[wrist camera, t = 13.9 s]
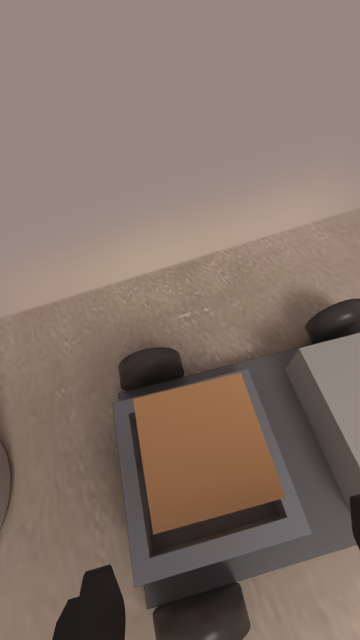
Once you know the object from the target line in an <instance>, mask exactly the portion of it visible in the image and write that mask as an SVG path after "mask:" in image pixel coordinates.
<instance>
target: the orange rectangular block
mask: <svg viewBox="0 0 360 640" xmlns="http://www.w3.org/2000/svg"><path fill="white" fill-rule="evenodd" d="M133 402H134V409H135V415H136V422H137V429H138V436H139V442H140V449H141V456H142V463H143V469H144V476H145V483H146V490H147V497H148V503H149V510H150V517H151V524H152V530H153V535H154V534H157V533H161V532H164V531H168V530H172V529H175V528H179V527H182V526H186V525H190V524H193V523H197V522H200V521H204V520H208V519H211V518H215V517H218V516H222V515H225V514H229V513H233V512H236V511H240V510H243V509H247V508H251V507H254V506H258V505H261V504H265V503H269V502H272V501H276V500H279V499H283V498H286V496H285V493H284V491H283V488H282V485H281V482H280V480H279V477H278V474H277V471H276V469H275V466H274V463H273V460H272V458H271V455H270V452H269V449H268V446H267V444H266V441H265V438H264V435H263V433H262V430H261V427H260V424H259V422H258V419H257V416H256V413H255V410H254V408H253V405H252V402H251V399H250V397H249V394H248V391H247V388H246V386H245V383H244V380H243V377H242V374H241V373H237V374H233V375H229V376H225V377H221V378H217V379H213V380H209V381H205V382H201V383H196V384H192V385H188V386H184V387H180V388H176V389H172V390H168V391H164V392H160V393H156V394H152V395H148V396H144V397H140V398H136V399H133Z"/></svg>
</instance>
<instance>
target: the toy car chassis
mask: <svg viewBox="0 0 360 640" xmlns="http://www.w3.org/2000/svg"><path fill="white" fill-rule="evenodd" d="M305 329H306V331H307V333H308V335H309V337H310V339H311V341H312V342H313V344H311V345H308V346H304V347H300V348H296V349H292V350H288V351H284V352H280V353H276V354H272V355H268V356H264V357H260V358H256V359H252V360H248V361H244V362H241V363H237V364H233V365H229V366H225V367H221V368H217V369H213V370H209V371H205V372H201V373H197V374H193V375H189V376H185V377H183V375H184V370H183V366H182V362H181V358H180V355H179V353H178V352H177V351H176V350H174V349H170V348H150V349H145V350H141V351H138V352H135V353H133V354H131V355H129V356H127V357H126V358H124V359H123V360H122V361H121V362H120V364H119V366H118V369H119V376H120V383H121V388H122V389H123V390H125V391H126V392H122V393H118V394H119V401H120V402H116V403H113V411H114V420H115V428H116V436H117V445H118V453H119V461H120V470H121V478H122V486H123V495H124V503H125V512H126V520H127V528H128V537H129V545H130V553H131V562H132V570H133V579H134V587H138V586H141V585H144V590H145V598H146V605H147V609H150V608H153V607H156V606H158V607H157V608H156V609H155V610H154V612H153V621H154V628H155V635H156V640H242V639H243V638H244V637H245V636H246V635H247V633H248V632H249V629H250V625H251V624H250V620H249V616H248V613H247V609H246V605H245V601H244V597H243V594H242V590H241V586H240V584H238V583H236V582H237V581H241V580H244V579H247V578H250V577H254V576H257V575H260V574H263V573H266V572H270V571H273V570H276V569H279V568H283V567H286V566H289V565H292V564H296V563H299V562H302V561H305V560H309V559H312V558H315V557H318V556H322V555H325V554H328V553H331V552H335V551H338V550H341V549H344V548H347V547H351V546H354V545H357V543H356V541H355V539H354V536H353V532H352V523H351V511H350V497H351V496H354V495H357V494H360V299H350V300H345V301H342V302H339V303H337V304H334V305H332V306H330V307H328V308H326V309H324V310H322V311H321V312H319V313H318V314H316V315H315V316H314V317H312V318H311V319H310V320H309V321H308V323H307V324H306V326H305ZM237 373H241V374H242V377H243V380H244V383H245V386H246V388H247V391H248V394H249V397H250V399H251V402H252V405H253V408H254V410H255V413H256V416H257V419H258V422H259V424H260V427H261V430H262V433H263V435H264V438H265V441H266V444H267V446H268V449H269V452H270V455H271V458H272V460H273V463H274V466H275V469H276V471H277V474H278V477H279V480H280V482H281V485H282V488H283V491H284V493H285V496H286V498H283V499H279V500H276V501H272V502H269V503H265V504H261V505H258V506H254V507H251V508H247V509H243V510H240V511H236V512H233V513H229V514H225V515H222V516H218V517H215V518H211V519H208V520H204V521H200V522H197V523H193V524H190V525H186V526H182V527H179V528H175V529H172V530H168V531H164V532H161V533H157V534H154V535H153V530H152V524H151V517H150V510H149V503H148V497H147V490H146V483H145V476H144V469H143V463H142V456H141V449H140V442H139V436H138V429H137V422H136V415H135V409H134V402H133V399H136V398H140V397H144V396H148V395H152V394H156V393H160V392H164V391H168V390H172V389H176V388H180V387H184V386H188V385H192V384H196V383H201V382H205V381H209V380H213V379H217V378H221V377H225V376H229V375H233V374H237Z"/></svg>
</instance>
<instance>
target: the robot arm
mask: <svg viewBox="0 0 360 640" xmlns="http://www.w3.org/2000/svg"><path fill="white" fill-rule="evenodd" d="M350 511H351V523H352V532H353V536H354V539H355V541H356V543H357V545H358V547H359V549H360V494H357V495H354V496H351V497H350ZM52 640H125V606H124V601H123V597H122V594H121V591H120V589H119V586H118V583H117V580H116V578H115V575H114V572H113V569H112V567H111V565H107V566H103V567H100V568H96V569H93V570H89V571H86V572H85V574H84V576H83V580H82V585H81V591H80V596H79V597H76V598H72V599H69V600H68V602H67V604H66V606H65V607H64V609H63V611H62V613H61V615H60V617H59V619H58V621H57V623H56V627H55V631H54V635H53V639H52Z"/></svg>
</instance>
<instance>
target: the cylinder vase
mask: <svg viewBox="0 0 360 640" xmlns="http://www.w3.org/2000/svg"><path fill="white" fill-rule="evenodd" d="M10 484H11V478H10V467H9V462H8V458H7V455H6V452H5V450H4V448H3V446H2V444H1V442H0V529H1V526H2V523H3V520H4V517H5V514H6V510H7V506H8V502H9V496H10Z"/></svg>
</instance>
